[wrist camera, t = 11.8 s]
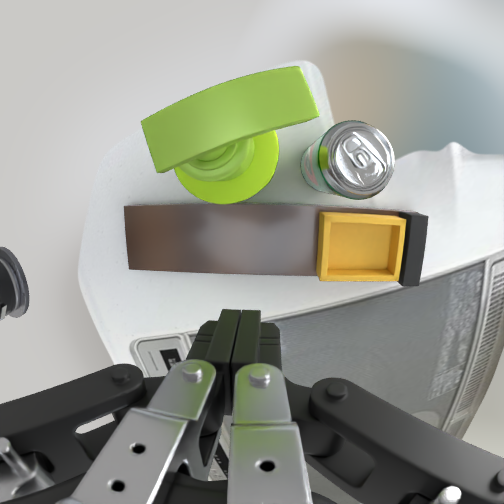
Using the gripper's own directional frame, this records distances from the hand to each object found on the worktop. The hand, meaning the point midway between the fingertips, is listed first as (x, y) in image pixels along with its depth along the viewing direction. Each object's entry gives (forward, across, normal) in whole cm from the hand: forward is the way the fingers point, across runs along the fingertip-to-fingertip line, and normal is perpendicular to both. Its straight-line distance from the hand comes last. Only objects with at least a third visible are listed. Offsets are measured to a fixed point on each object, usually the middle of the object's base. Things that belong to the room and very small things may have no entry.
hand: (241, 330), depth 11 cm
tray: (+17, -10, 0) cm, 19 cm away
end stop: (+17, -15, 0) cm, 23 cm away
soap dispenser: (+18, +1, -8) cm, 20 cm away
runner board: (+18, -1, 0) cm, 18 cm away
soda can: (+18, -7, -7) cm, 21 cm away
